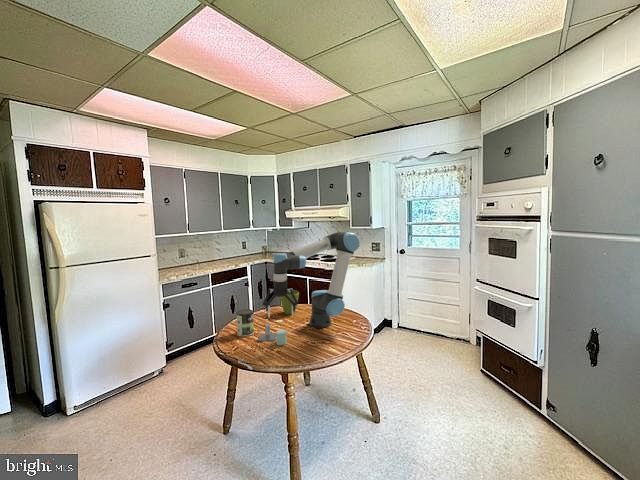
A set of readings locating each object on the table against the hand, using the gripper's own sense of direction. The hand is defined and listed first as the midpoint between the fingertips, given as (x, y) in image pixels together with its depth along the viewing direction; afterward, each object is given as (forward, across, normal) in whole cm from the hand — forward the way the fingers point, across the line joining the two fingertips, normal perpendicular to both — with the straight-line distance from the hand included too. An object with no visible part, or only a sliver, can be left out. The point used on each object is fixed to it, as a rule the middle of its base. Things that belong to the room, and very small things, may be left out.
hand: (280, 316), depth 173 cm
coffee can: (+16, +24, -16) cm, 33 cm away
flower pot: (+16, -2, -54) cm, 56 cm away
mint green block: (+16, 0, 0) cm, 16 cm away
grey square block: (+16, +9, -8) cm, 20 cm away
